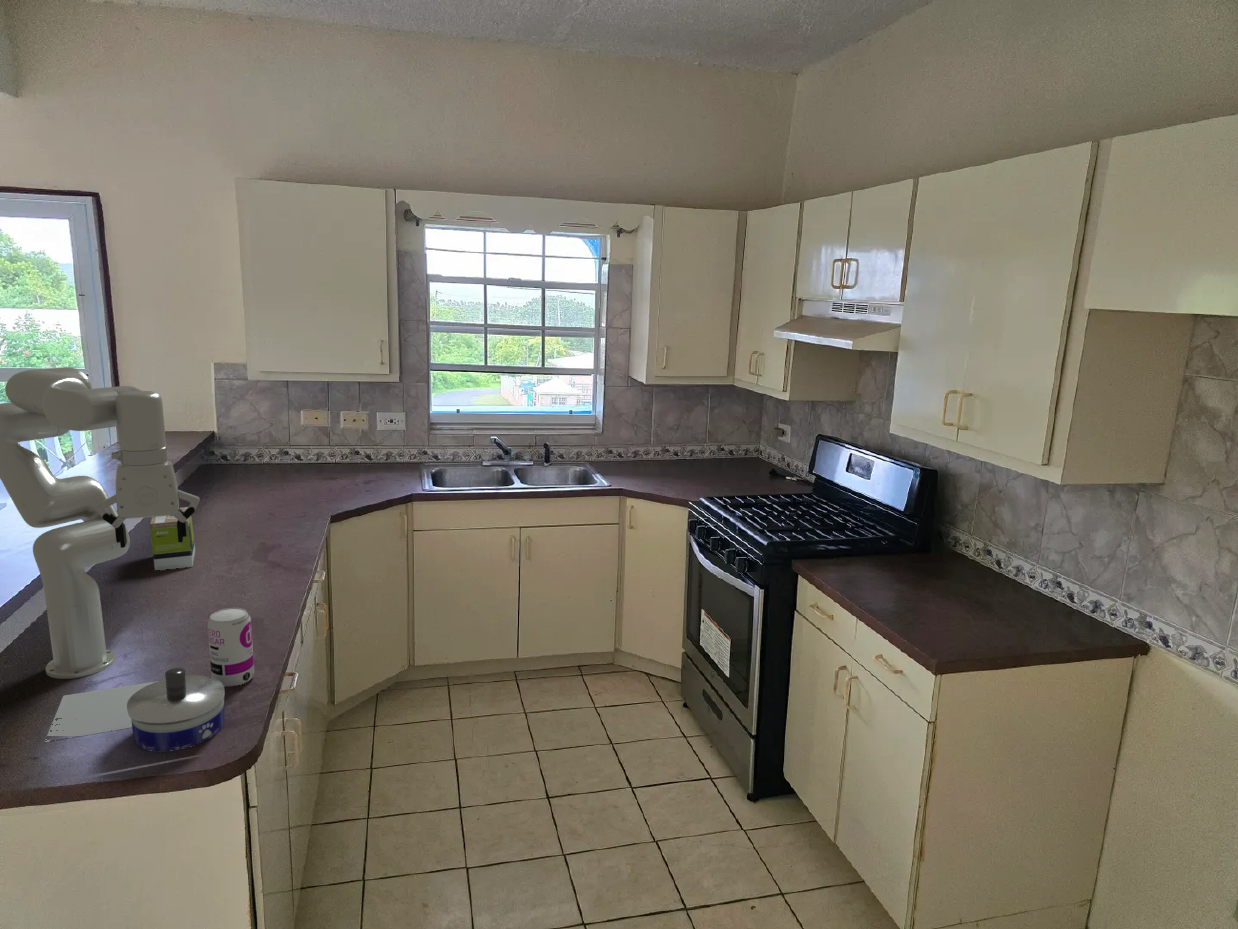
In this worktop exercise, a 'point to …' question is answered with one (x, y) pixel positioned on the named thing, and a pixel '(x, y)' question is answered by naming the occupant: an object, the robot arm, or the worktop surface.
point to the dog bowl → (179, 732)
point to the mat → (94, 712)
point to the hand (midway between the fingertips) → (152, 542)
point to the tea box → (171, 543)
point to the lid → (175, 699)
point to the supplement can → (231, 646)
